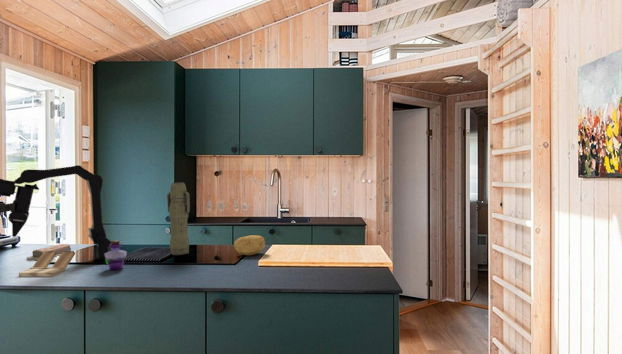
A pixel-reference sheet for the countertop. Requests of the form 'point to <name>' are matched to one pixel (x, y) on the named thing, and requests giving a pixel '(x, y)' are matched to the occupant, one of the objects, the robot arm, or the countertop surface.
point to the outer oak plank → (45, 259)
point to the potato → (249, 244)
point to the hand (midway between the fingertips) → (14, 235)
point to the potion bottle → (115, 256)
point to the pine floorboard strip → (41, 272)
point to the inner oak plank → (64, 259)
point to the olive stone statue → (179, 218)
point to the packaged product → (57, 248)
